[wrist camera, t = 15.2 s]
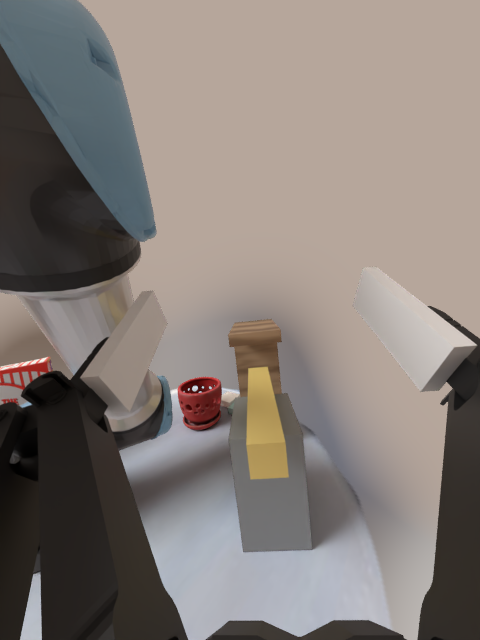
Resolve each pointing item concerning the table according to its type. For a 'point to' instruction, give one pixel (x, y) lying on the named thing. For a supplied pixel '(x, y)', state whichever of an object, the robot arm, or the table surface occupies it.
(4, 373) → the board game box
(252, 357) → the shelf stand
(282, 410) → the gray rectangular block
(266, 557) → the table surface
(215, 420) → the plant pot
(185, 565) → the table surface
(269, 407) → the number bar
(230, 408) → the digit tile teal
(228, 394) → the digit tile cream
